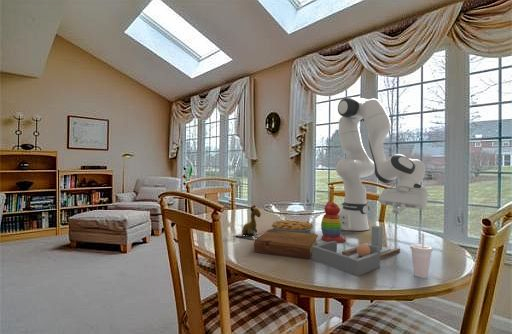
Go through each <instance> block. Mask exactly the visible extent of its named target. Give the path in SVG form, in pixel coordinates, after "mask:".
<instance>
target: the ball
mask: <svg viewBox="0 0 512 334" xmlns="http://www.w3.org/2000/svg"><path fill="white" fill-rule="evenodd" d="M356 247H357V253H356V254H358V255H359V257H364V256H366V255H369V254H371V253H370V248H369V246H368V245H366V244H365V243H360V244H358V245H357V246H356Z"/></svg>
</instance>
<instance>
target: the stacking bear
mask: <svg viewBox="0 0 512 334" xmlns="http://www.w3.org/2000/svg"><path fill="white" fill-rule="evenodd" d="M340 210H341V208H340V207H339V206H338V204H337V203H336V202H335V203H334V202H330V201H327V202H326V204H325V206H324V212H325V214H324V215H323V216H322V219H321V225H320V228H321V233H322V235H321V240H322V241H324V242H326V243H327V242H330V241H337V243H345V242H346V238H345V237H343V236H341V231H342V229H341V221H340V218H339V215H338V213H339V212H340Z"/></svg>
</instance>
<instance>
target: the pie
mask: <svg viewBox="0 0 512 334" xmlns="http://www.w3.org/2000/svg"><path fill="white" fill-rule="evenodd" d="M289 220H290V219H287V220H284V219H280V220H279V221H278V220H277V221H273V223H272V225H271V227H272V228H273V230H274V231H285V232H296V233H307V234H311V230H312V229H313V228H314V225H313V223H310V222H309V221H304V222H300V221H301V220H298V221H289Z"/></svg>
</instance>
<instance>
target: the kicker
mask: <svg viewBox="0 0 512 334" xmlns="http://www.w3.org/2000/svg"><path fill="white" fill-rule="evenodd" d="M371 242H372V244H368V243H369V242H368V243H367V242H365V243H364V244H366V245H368V246H369V248H370V254H372V253H375V252H377V253H380V254H381V253H383V252H386V251H389V250H392V248H389V247H385V246H383V226H381V225H373V226H371Z"/></svg>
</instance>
